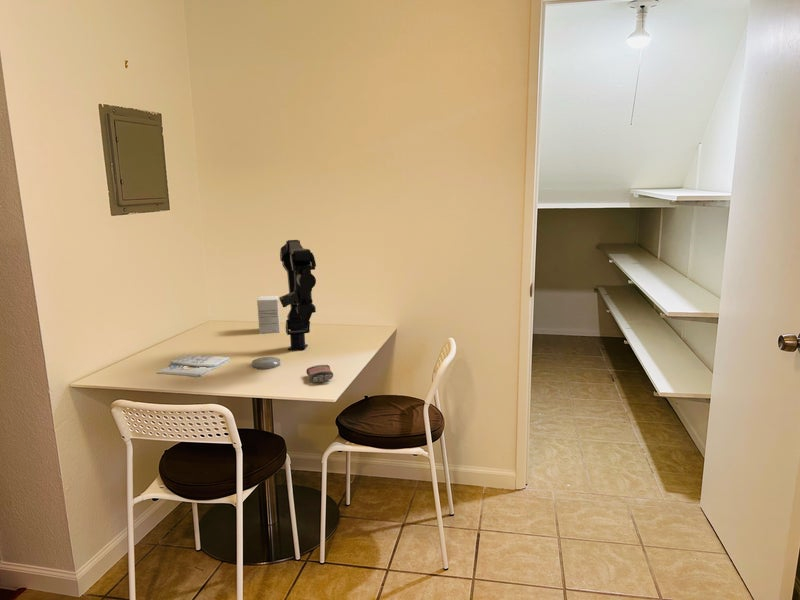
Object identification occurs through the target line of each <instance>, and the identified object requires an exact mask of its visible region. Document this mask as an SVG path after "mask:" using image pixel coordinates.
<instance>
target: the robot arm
mask: <svg viewBox="0 0 800 600" xmlns="http://www.w3.org/2000/svg"><path fill="white" fill-rule="evenodd" d="M279 257H280V258H279V259H280V262H281V263H282V268H283V269H284V270H285V272H286V274H287V283H288V292H289V293H287V294H283V295H282V296H280V297H278V300H279V302H280V303H281V306H282V307H283V308H287V306H290V310H289V312H288V314H287V319H286V320H285V333H286V335H287V336H289V338H290V339H289V340H290V345H289V346H288V348H287V349H288V351H305V350H306V348H308V346H309V344H306V336H305V335H306V334H309V333H310V331H311V329H310V327H311V321H310V320H311V318H312V315H313V313H316V312H317V310H316V308H317V307H316V305H315V304H314V303H313V298H312V297H313V295H312V294H313V293H312V291H313V288H314V287H315V286H316V283H317V279H316V277H315V276H314V274H313V273H312V270H314V271H315V270H316V266H317V263H316V259H315V256H314V253H313V252H311V249H310V248H304V247H303V245H302V244H301V241H300V240H298V239H289V240H286V242H285V244H284V245H283V246H281V248H280V250H279Z"/></svg>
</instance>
